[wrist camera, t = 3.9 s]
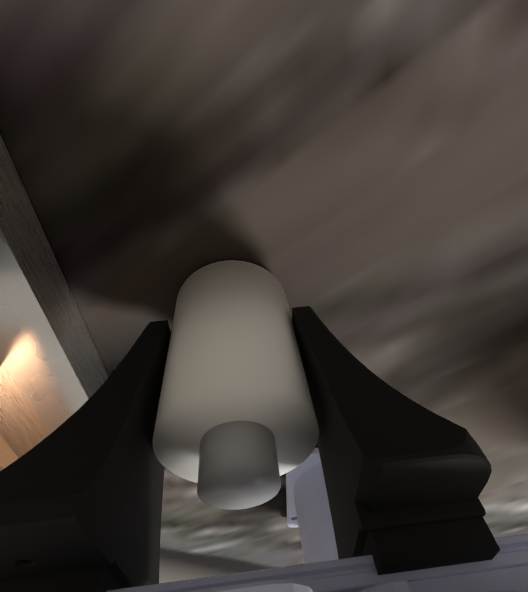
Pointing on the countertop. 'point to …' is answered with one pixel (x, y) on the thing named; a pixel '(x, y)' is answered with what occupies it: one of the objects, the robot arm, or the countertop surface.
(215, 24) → the countertop surface
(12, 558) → the robot arm
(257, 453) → the white bottle
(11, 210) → the white rectangular base assembly
